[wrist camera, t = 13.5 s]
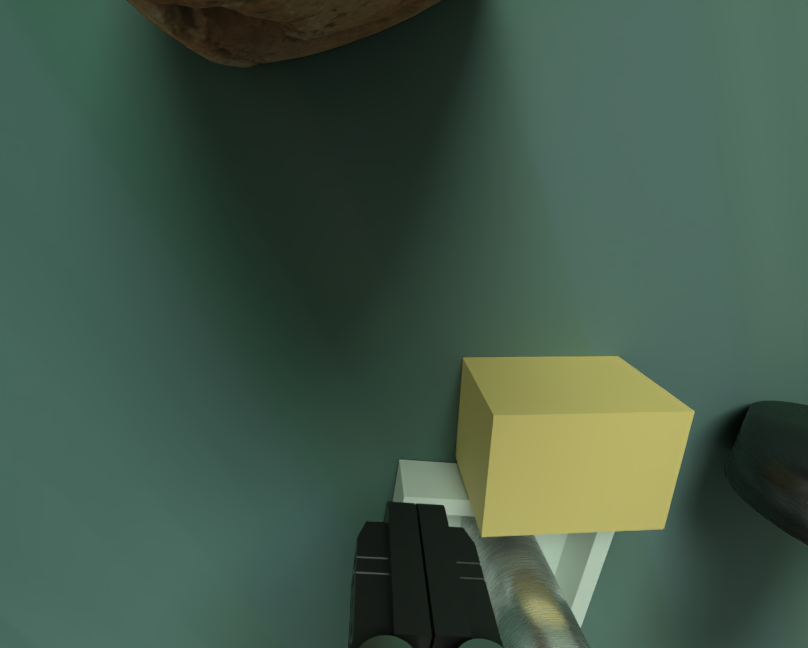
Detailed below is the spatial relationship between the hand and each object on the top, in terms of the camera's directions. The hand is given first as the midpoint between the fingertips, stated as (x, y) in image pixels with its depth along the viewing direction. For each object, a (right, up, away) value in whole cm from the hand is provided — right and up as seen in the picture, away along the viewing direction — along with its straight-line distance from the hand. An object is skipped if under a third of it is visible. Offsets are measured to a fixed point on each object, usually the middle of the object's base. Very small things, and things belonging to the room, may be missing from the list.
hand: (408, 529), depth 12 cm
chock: (+6, +2, +9) cm, 11 cm away
